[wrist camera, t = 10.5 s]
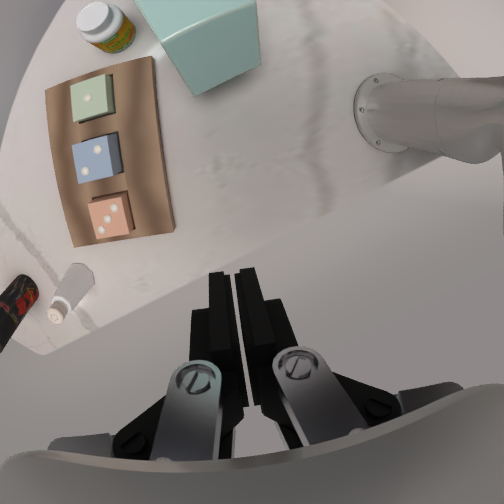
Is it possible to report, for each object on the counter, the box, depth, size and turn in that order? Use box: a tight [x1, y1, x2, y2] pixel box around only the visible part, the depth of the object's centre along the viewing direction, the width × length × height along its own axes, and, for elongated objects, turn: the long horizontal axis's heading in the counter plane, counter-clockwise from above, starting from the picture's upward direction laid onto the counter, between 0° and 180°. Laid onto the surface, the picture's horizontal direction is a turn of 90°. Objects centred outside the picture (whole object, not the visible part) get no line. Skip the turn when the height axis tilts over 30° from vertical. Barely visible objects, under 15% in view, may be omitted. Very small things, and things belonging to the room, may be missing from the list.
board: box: [45, 56, 175, 248], centre depth 32 cm, size 16×24×2 cm, turn 4°
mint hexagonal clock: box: [133, 0, 261, 97], centre depth 20 cm, size 17×8×21 cm
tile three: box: [88, 190, 135, 239], centre depth 35 cm, size 5×5×4 cm
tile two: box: [72, 134, 123, 184], centre depth 30 cm, size 5×5×4 cm
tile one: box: [70, 74, 116, 122], centre depth 27 cm, size 5×5×4 cm
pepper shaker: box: [47, 264, 94, 324], centre depth 35 cm, size 5×5×11 cm
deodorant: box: [0, 274, 39, 353], centre depth 33 cm, size 6×6×15 cm
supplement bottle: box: [76, 1, 135, 53], centre depth 21 cm, size 5×5×10 cm
